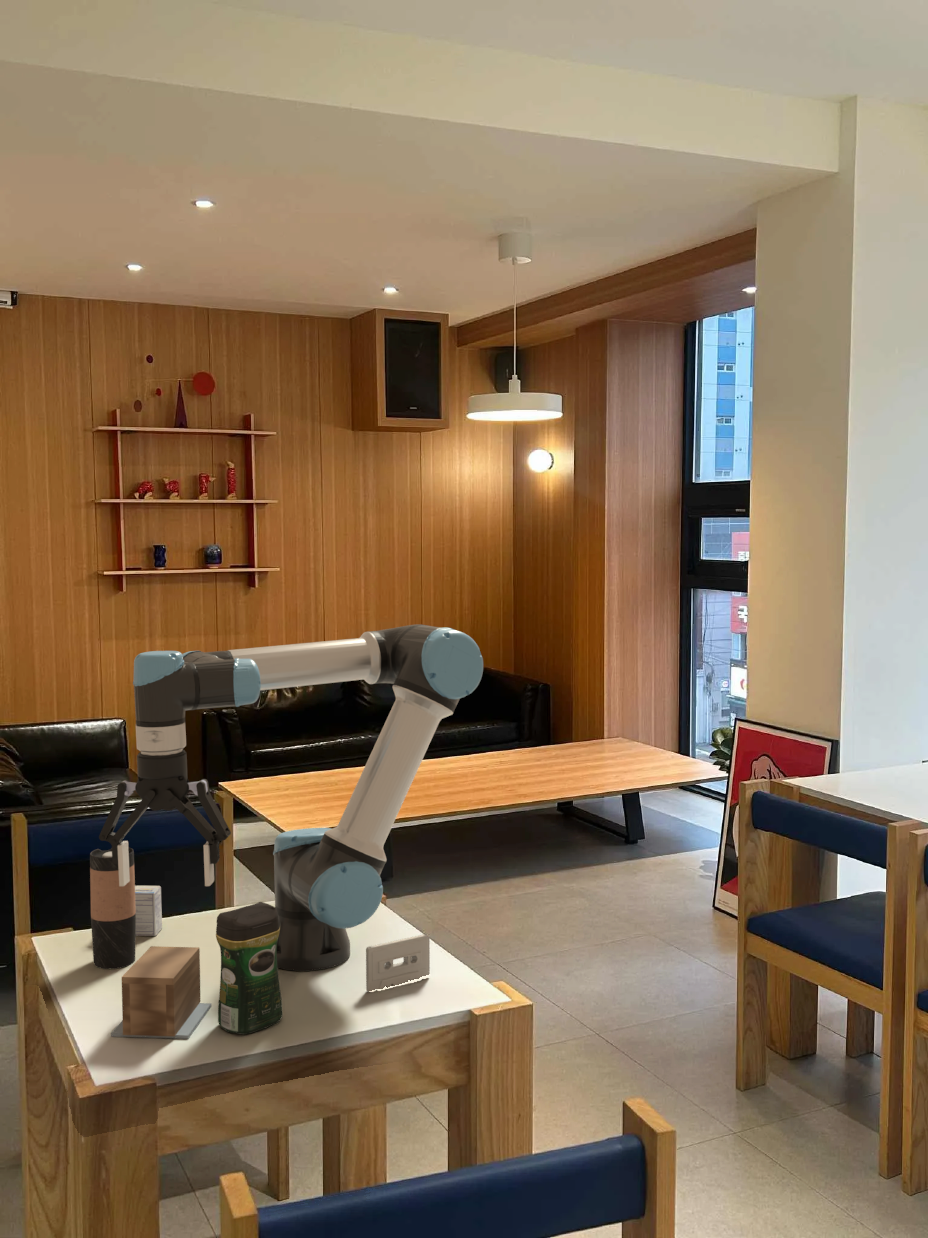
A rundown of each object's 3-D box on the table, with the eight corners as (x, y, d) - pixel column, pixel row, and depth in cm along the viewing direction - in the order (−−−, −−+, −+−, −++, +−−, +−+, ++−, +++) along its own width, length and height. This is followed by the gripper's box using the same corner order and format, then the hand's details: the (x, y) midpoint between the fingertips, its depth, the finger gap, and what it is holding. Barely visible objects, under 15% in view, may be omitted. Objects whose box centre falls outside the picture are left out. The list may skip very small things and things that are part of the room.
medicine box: (162, 929, 223) (161, 885, 222) (155, 937, 219) (154, 892, 218) (122, 928, 223) (121, 885, 223) (114, 936, 219) (113, 892, 218)
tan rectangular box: (200, 1001, 187) (199, 947, 186) (174, 1036, 174) (173, 978, 173) (152, 1000, 188) (151, 946, 187) (122, 1035, 175) (121, 977, 174)
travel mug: (123, 971, 201) (121, 859, 200) (83, 968, 203) (80, 856, 201) (144, 955, 209) (142, 847, 207) (105, 952, 210) (103, 845, 209)
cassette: (369, 995, 191) (369, 949, 190) (364, 991, 193) (364, 946, 192) (431, 979, 198) (431, 935, 197) (425, 976, 199) (425, 932, 199)
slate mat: (211, 1006, 186) (211, 1003, 186) (188, 1038, 174) (188, 1035, 174) (139, 1004, 187) (139, 1001, 187) (111, 1036, 175) (111, 1033, 175)
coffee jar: (260, 1007, 186) (258, 894, 185) (290, 1022, 180) (288, 905, 179) (208, 1025, 179) (206, 908, 178) (238, 1041, 174) (236, 920, 172)
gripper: (73, 756, 177) (80, 891, 178) (234, 754, 175) (239, 891, 177) (92, 746, 184) (97, 876, 186) (246, 745, 183) (251, 876, 184)
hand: (167, 884), depth 181 cm, fingers open, 13 cm apart
